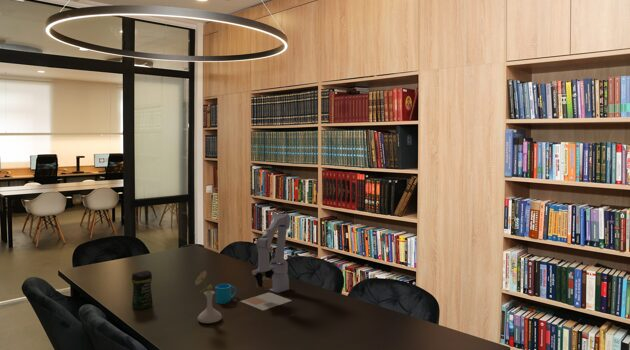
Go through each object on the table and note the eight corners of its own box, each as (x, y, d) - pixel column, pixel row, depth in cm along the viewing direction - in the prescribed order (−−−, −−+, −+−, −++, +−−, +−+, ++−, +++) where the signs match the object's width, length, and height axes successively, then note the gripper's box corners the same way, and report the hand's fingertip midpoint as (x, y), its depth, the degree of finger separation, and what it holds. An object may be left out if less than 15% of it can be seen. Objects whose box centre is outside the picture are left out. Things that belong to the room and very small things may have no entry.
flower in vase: (212, 314, 227) (211, 264, 225) (227, 320, 219) (226, 268, 218) (189, 322, 217) (188, 270, 215) (204, 328, 209) (203, 275, 207)
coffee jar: (137, 311, 231) (136, 275, 230) (130, 307, 236) (128, 272, 235) (155, 306, 238) (154, 271, 237) (147, 302, 243) (146, 268, 242)
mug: (220, 304, 240) (220, 289, 239) (213, 300, 246) (212, 285, 246) (240, 299, 248) (240, 285, 247) (232, 295, 254) (232, 281, 253)
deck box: (272, 288, 243) (272, 279, 242) (265, 290, 239) (265, 281, 239) (262, 285, 248) (262, 276, 248) (255, 287, 245) (255, 277, 244)
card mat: (269, 293, 258) (269, 292, 258) (292, 301, 245) (292, 300, 245) (240, 302, 244) (240, 301, 243) (263, 311, 230) (263, 310, 230)
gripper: (269, 256, 251) (269, 280, 252) (248, 261, 240) (248, 286, 241) (277, 258, 246) (278, 283, 247) (256, 263, 235) (257, 289, 236)
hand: (264, 285), depth 244 cm, fingers closed on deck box, 5 cm apart
